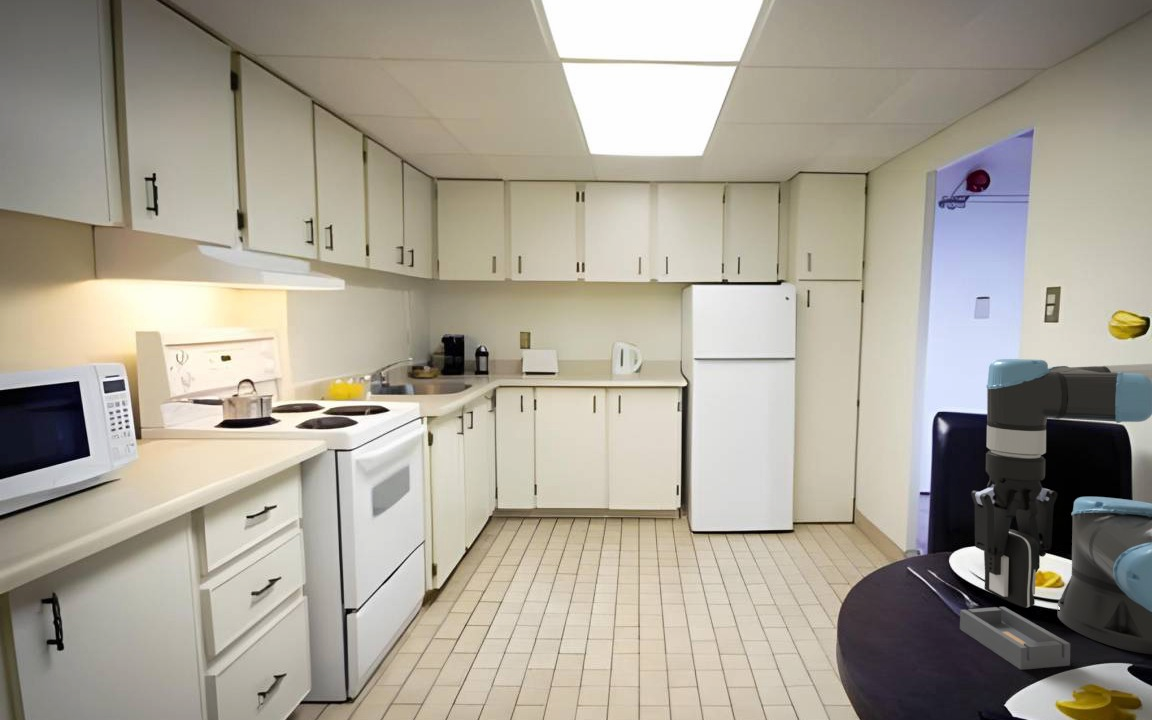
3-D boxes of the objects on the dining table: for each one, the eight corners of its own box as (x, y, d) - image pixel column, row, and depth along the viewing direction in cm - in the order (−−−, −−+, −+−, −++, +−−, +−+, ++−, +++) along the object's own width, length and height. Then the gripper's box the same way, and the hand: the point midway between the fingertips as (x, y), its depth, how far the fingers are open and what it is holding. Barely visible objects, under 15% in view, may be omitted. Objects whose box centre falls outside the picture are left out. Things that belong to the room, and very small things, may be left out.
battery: (1043, 606, 85) (1044, 537, 85) (1025, 610, 84) (1026, 539, 84) (999, 587, 92) (999, 522, 91) (982, 590, 91) (982, 525, 90)
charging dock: (1003, 625, 94) (1004, 606, 94) (1069, 665, 83) (1070, 643, 83) (959, 629, 94) (960, 609, 93) (1020, 669, 82) (1021, 647, 82)
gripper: (1040, 446, 91) (1037, 578, 92) (948, 449, 90) (946, 584, 91) (1086, 456, 84) (1082, 599, 85) (986, 460, 82) (983, 606, 83)
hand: (1011, 591), depth 88 cm, fingers closed on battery, 4 cm apart
